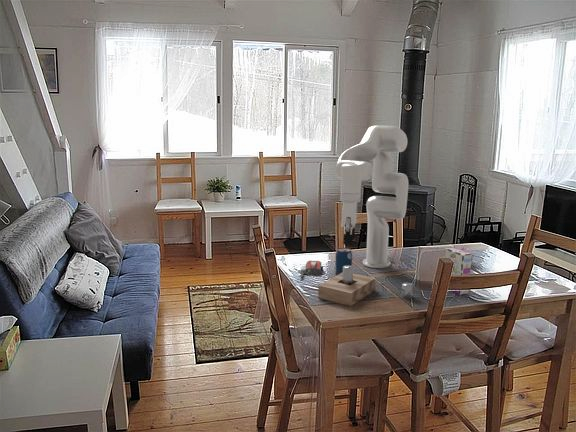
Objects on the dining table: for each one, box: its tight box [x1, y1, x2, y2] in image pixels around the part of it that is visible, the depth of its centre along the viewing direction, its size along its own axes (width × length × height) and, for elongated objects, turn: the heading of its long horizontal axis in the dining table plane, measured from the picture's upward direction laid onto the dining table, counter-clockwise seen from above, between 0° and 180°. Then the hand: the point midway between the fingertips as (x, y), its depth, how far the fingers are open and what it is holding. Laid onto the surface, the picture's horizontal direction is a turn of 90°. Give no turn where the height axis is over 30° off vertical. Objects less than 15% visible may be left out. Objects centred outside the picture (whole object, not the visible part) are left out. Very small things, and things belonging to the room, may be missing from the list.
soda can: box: [334, 247, 353, 276], centre depth 223 cm, size 7×7×12 cm
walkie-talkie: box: [300, 260, 322, 279], centre depth 229 cm, size 9×4×20 cm
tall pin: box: [342, 265, 354, 285], centre depth 204 cm, size 4×4×11 cm
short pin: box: [401, 282, 414, 300], centre depth 202 cm, size 4×4×5 cm
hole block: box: [317, 272, 376, 307], centre depth 204 cm, size 20×14×5 cm
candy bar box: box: [443, 246, 474, 296], centre depth 208 cm, size 11×5×16 cm, turn 22°
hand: (349, 241), depth 201 cm, fingers open, 9 cm apart
